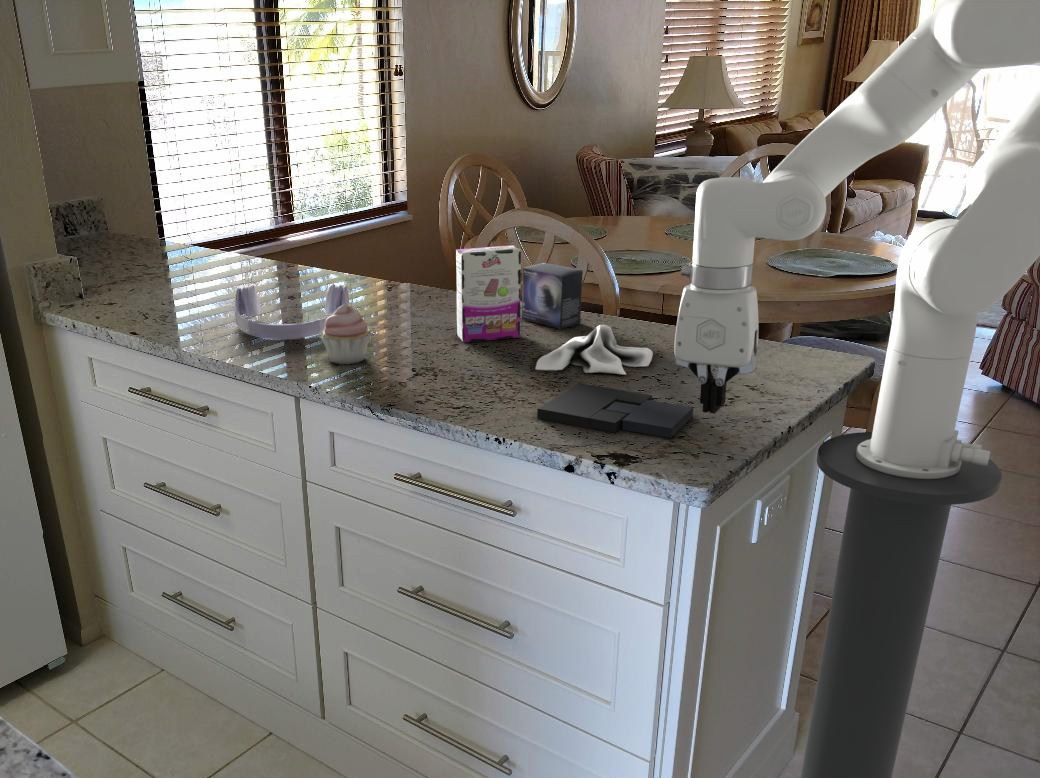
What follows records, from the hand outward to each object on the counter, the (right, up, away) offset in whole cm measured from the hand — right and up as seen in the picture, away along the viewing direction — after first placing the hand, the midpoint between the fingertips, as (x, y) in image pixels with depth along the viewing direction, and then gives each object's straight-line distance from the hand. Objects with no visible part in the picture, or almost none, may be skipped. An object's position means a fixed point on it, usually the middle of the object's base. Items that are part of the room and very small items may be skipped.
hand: (711, 409), depth 136 cm
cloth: (-10, +11, +34) cm, 37 cm away
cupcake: (-52, +11, +37) cm, 65 cm away
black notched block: (-14, 0, +10) cm, 17 cm away
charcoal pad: (-8, -1, +6) cm, 10 cm away
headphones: (-65, +21, +60) cm, 90 cm away
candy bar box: (-27, +17, +49) cm, 58 cm away
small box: (-13, +21, +58) cm, 63 cm away
